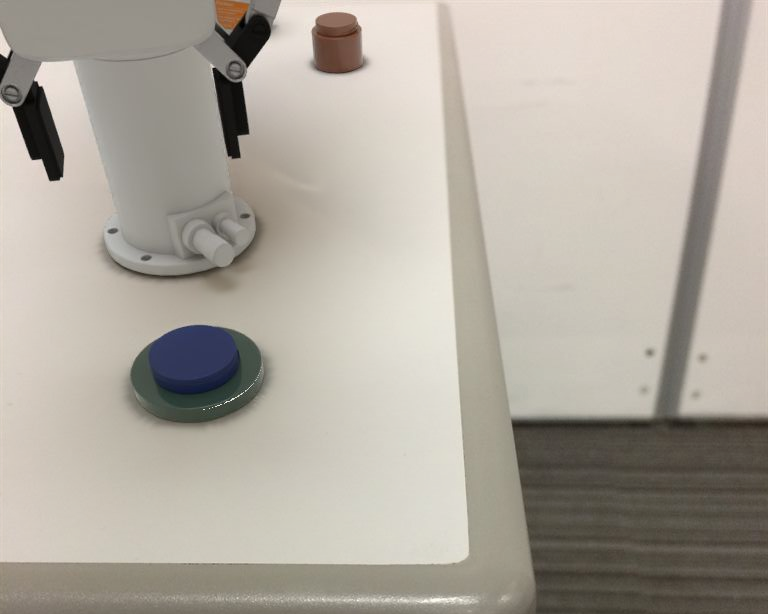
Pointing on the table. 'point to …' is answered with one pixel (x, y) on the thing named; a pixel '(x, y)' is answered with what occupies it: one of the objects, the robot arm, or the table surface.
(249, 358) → the coaster
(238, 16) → the cosmetic box
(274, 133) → the table surface
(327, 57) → the jar
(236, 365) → the jar lid
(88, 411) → the table surface
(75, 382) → the table surface
